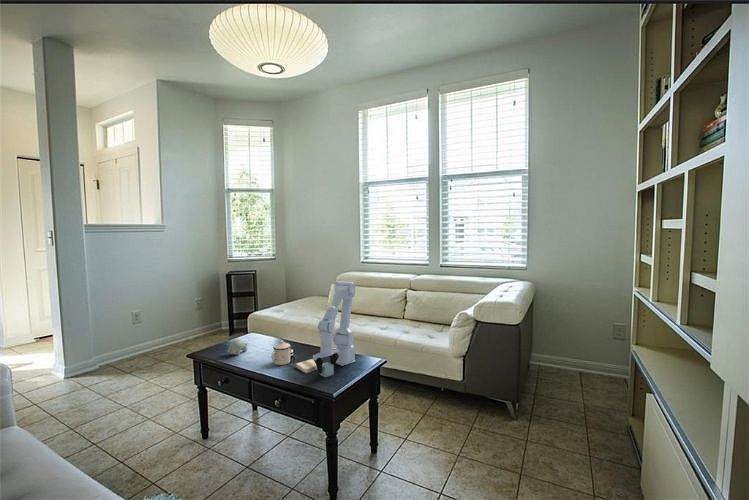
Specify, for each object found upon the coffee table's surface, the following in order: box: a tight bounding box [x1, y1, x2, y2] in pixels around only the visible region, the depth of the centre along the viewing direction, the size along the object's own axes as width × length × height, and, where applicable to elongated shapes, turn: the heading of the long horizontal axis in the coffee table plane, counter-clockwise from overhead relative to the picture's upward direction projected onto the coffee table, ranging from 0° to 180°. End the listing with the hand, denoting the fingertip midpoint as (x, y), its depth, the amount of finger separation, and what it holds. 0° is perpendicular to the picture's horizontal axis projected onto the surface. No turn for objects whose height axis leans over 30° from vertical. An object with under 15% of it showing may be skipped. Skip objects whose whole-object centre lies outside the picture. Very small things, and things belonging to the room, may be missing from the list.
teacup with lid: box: [271, 340, 292, 366], centre depth 191 cm, size 12×9×12 cm
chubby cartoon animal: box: [226, 338, 249, 356], centre depth 205 cm, size 7×12×8 cm, turn 144°
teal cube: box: [319, 362, 335, 378], centre depth 176 cm, size 5×5×5 cm
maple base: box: [295, 358, 318, 374], centre depth 185 cm, size 10×10×2 cm
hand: (326, 370), depth 176 cm, fingers open, 7 cm apart
